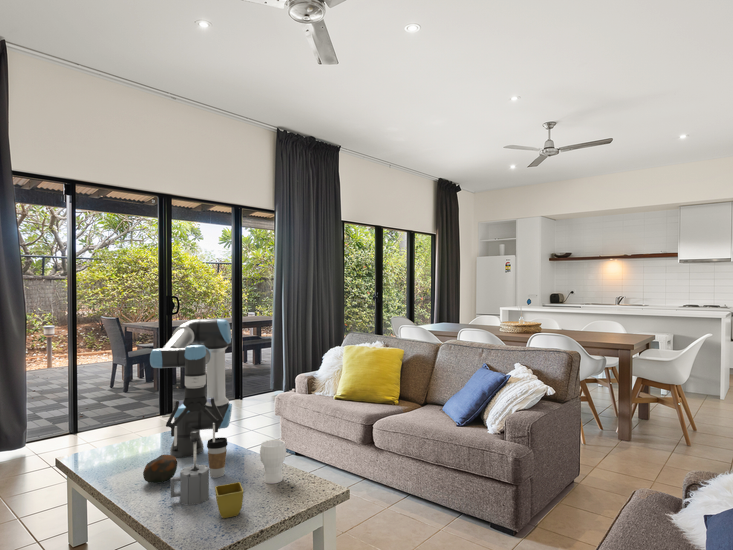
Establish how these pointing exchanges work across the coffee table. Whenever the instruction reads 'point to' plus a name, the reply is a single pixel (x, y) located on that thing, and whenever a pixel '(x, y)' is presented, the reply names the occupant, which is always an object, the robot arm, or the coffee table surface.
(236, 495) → the flower pot
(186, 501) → the press carafe
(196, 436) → the plunger
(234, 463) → the coffee table surface
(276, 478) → the cup
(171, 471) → the rock
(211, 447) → the coffee cup
